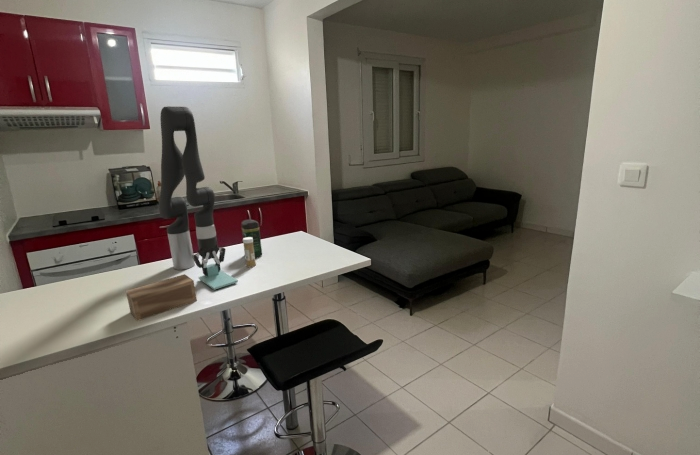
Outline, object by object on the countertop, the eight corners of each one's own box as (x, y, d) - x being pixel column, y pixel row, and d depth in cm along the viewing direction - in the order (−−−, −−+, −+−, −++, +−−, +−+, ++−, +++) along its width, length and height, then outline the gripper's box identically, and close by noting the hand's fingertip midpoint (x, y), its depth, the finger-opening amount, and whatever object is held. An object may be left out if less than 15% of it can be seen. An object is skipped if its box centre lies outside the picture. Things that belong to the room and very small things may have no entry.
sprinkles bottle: (257, 265, 166) (254, 238, 162) (247, 268, 164) (244, 240, 160) (254, 263, 170) (250, 236, 166) (244, 265, 167) (241, 238, 164)
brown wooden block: (130, 312, 126) (125, 290, 124) (188, 293, 139) (184, 274, 137) (137, 320, 120) (132, 298, 118) (196, 300, 133) (193, 280, 131)
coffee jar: (264, 256, 178) (260, 220, 174) (248, 259, 174) (244, 223, 170) (258, 251, 186) (254, 217, 182) (243, 254, 182) (238, 219, 178)
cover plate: (198, 278, 151) (196, 268, 150) (221, 271, 158) (219, 261, 157) (214, 289, 140) (212, 278, 139) (237, 282, 147) (236, 271, 145)
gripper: (219, 230, 155) (224, 266, 160) (185, 237, 146) (192, 276, 150) (226, 233, 150) (231, 271, 154) (192, 241, 140) (198, 281, 145)
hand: (212, 273), depth 152 cm, fingers closed on cover plate, 4 cm apart
